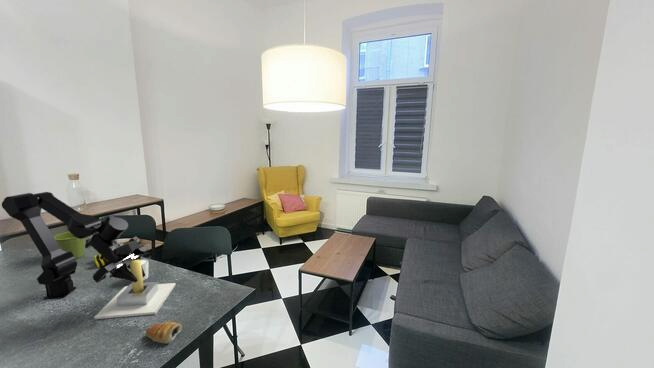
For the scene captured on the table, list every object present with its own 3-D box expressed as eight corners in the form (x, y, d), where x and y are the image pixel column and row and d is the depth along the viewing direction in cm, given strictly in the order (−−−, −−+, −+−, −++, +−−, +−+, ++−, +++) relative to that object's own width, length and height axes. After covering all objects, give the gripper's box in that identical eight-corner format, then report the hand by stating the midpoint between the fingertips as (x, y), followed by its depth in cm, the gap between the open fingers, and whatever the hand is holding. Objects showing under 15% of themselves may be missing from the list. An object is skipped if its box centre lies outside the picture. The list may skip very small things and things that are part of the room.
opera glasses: (97, 262, 125) (93, 253, 123) (111, 257, 128) (107, 248, 126) (97, 270, 117) (93, 261, 116) (112, 265, 121) (108, 255, 119)
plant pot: (76, 250, 134) (72, 229, 132) (96, 252, 132) (93, 231, 130) (48, 261, 122) (45, 238, 120) (71, 263, 121) (67, 240, 119)
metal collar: (117, 307, 91) (116, 297, 90) (131, 292, 100) (130, 283, 99) (146, 304, 93) (146, 295, 92) (158, 290, 101) (157, 281, 101)
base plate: (94, 319, 86) (94, 317, 86) (125, 288, 103) (125, 286, 103) (155, 314, 89) (155, 311, 89) (175, 284, 107) (175, 283, 106)
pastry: (139, 342, 78) (138, 330, 77) (157, 326, 84) (156, 315, 83) (169, 345, 76) (168, 334, 76) (184, 329, 83) (183, 318, 82)
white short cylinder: (139, 284, 107) (138, 267, 105) (125, 281, 108) (123, 265, 107) (153, 275, 113) (152, 260, 112) (140, 273, 114) (138, 258, 113)
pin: (133, 299, 94) (129, 264, 91) (133, 294, 96) (129, 261, 94) (144, 296, 96) (140, 262, 93) (144, 291, 98) (140, 258, 96)
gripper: (96, 243, 83) (133, 279, 84) (142, 224, 101) (171, 253, 102) (76, 265, 85) (112, 299, 86) (124, 242, 103) (154, 271, 104)
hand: (140, 278), depth 95 cm, fingers closed on pin, 3 cm apart
